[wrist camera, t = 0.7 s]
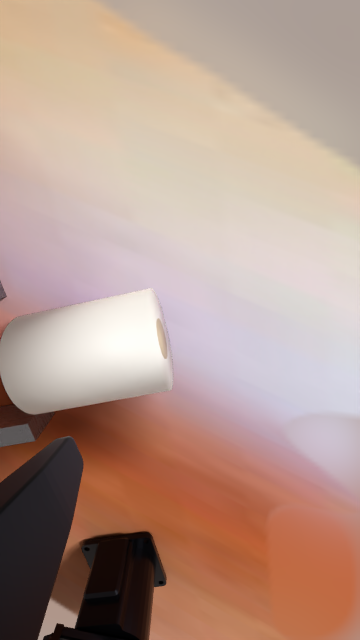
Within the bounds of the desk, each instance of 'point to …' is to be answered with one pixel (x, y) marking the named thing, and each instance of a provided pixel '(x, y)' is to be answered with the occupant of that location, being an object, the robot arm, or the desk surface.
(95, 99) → the desk surface
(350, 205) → the desk surface
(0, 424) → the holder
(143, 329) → the roll
